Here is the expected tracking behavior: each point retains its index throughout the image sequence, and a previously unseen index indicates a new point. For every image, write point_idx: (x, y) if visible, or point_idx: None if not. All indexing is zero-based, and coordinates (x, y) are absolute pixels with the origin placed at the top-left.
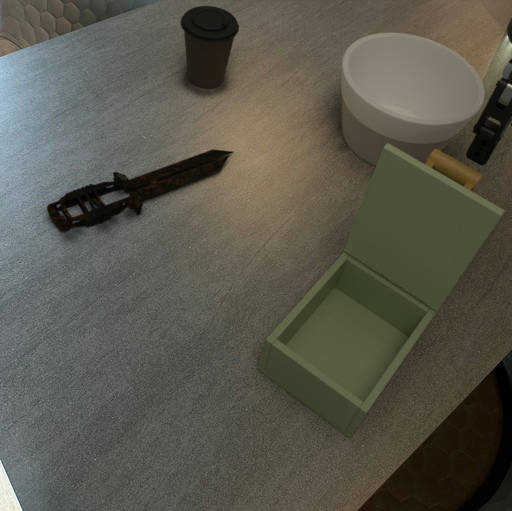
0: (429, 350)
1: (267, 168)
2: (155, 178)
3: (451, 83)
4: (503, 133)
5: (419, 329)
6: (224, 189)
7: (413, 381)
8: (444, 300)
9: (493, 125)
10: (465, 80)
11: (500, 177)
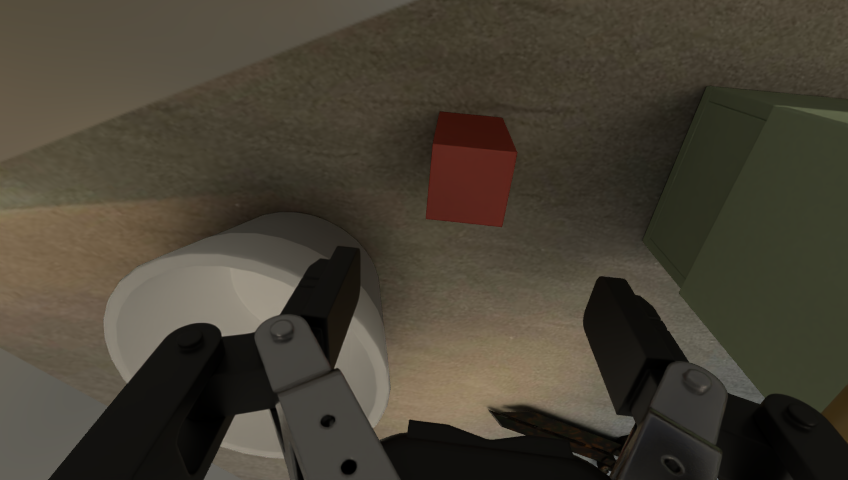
0: (718, 57)
1: (483, 372)
2: (583, 447)
3: (162, 292)
4: (725, 400)
5: (838, 119)
6: (548, 392)
7: (798, 57)
8: (821, 116)
9: (727, 454)
10: (146, 289)
11: (226, 91)
